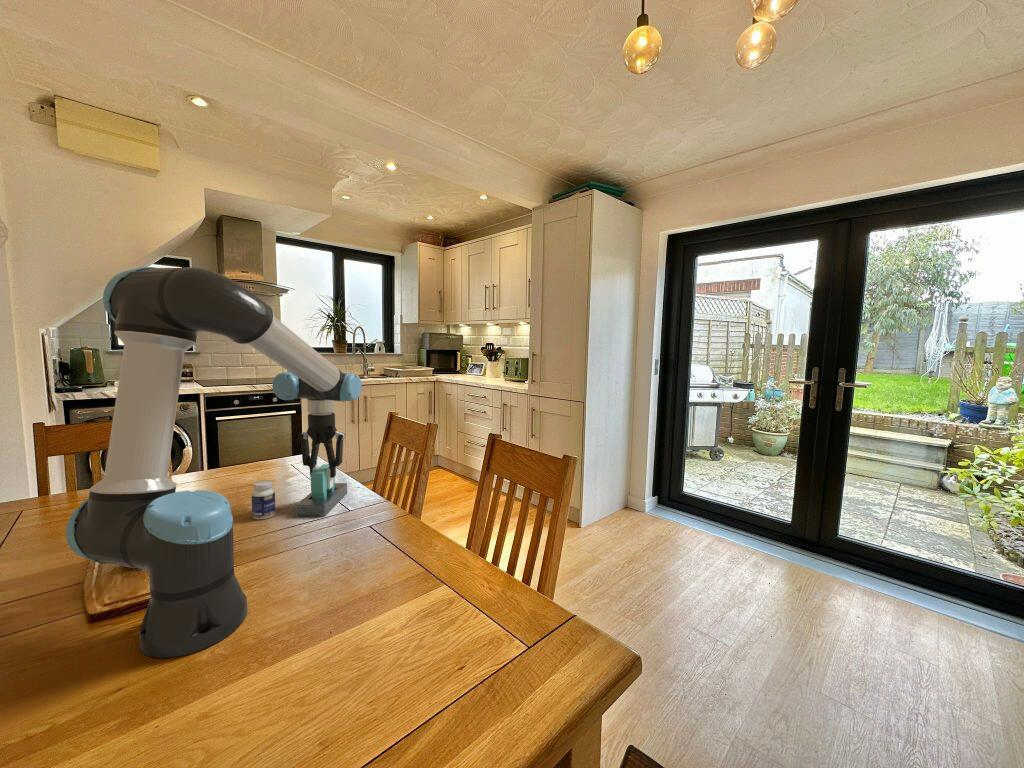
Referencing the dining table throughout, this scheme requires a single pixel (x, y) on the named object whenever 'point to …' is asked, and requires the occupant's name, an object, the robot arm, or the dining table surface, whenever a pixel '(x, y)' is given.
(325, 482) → the clip
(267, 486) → the pill bottle
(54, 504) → the dining table surface
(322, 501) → the rail
